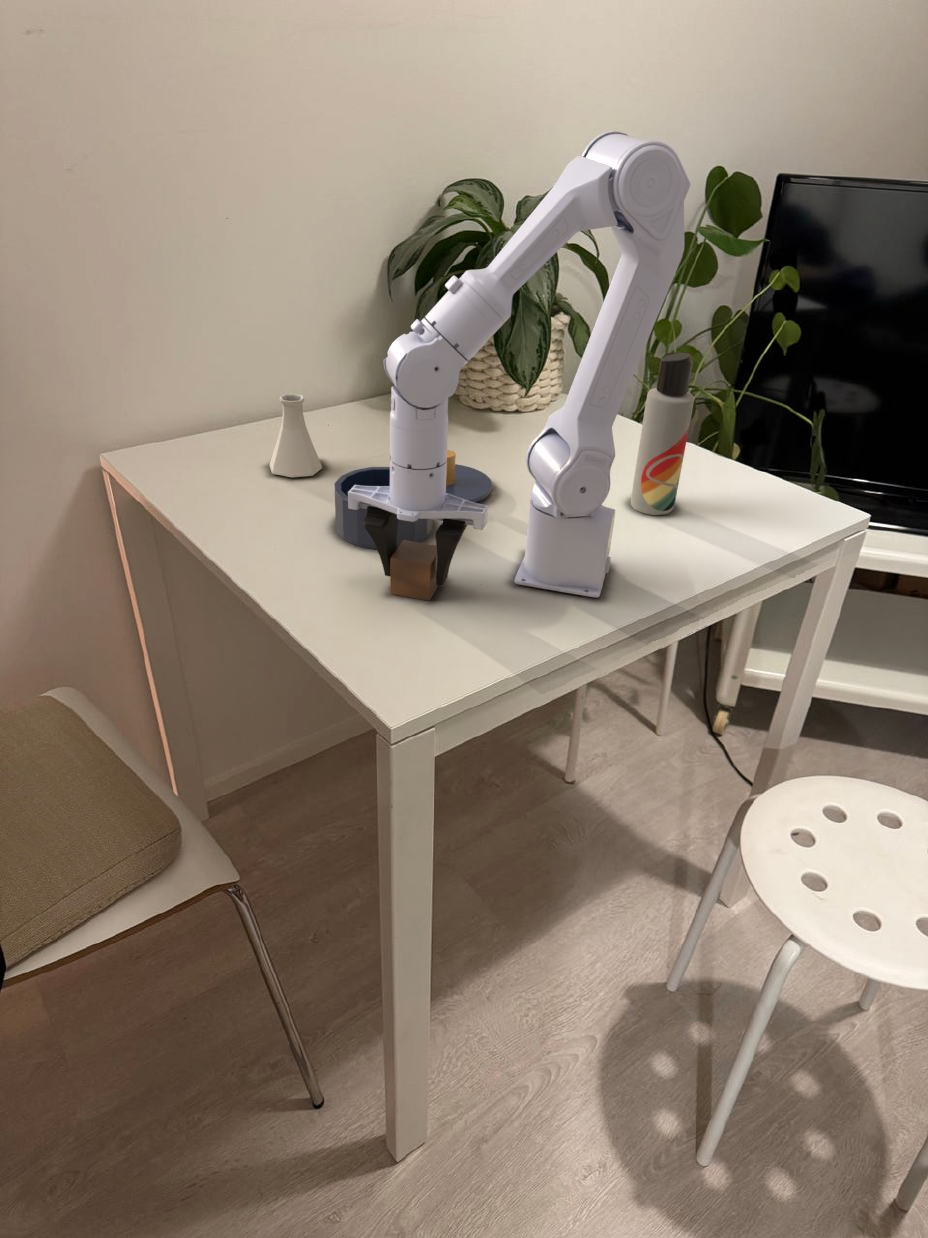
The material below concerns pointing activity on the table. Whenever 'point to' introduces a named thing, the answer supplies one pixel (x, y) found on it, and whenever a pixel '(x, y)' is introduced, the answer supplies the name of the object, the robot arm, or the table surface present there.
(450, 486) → the lid
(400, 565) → the block
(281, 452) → the flask
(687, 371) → the lotion bottle
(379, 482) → the tin
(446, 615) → the table surface
